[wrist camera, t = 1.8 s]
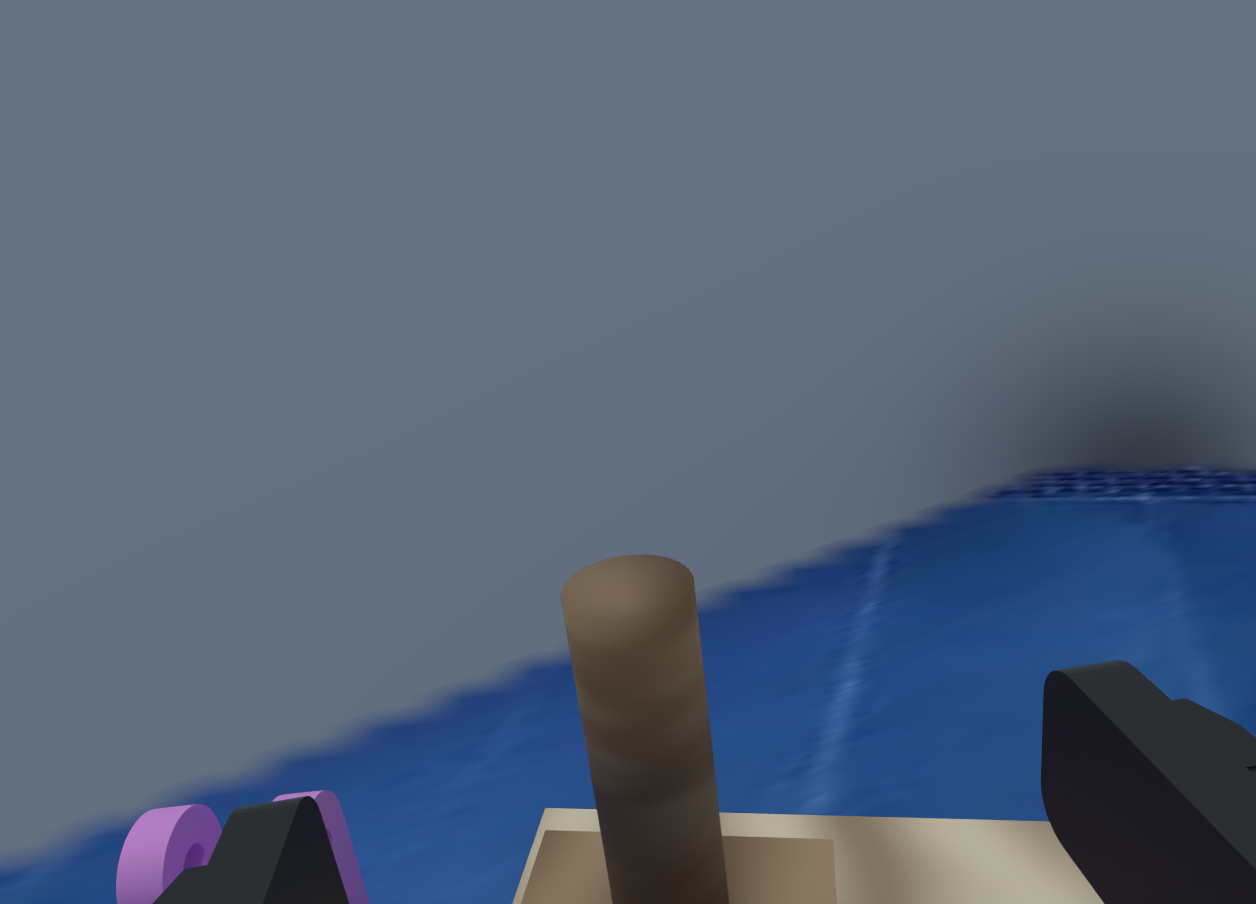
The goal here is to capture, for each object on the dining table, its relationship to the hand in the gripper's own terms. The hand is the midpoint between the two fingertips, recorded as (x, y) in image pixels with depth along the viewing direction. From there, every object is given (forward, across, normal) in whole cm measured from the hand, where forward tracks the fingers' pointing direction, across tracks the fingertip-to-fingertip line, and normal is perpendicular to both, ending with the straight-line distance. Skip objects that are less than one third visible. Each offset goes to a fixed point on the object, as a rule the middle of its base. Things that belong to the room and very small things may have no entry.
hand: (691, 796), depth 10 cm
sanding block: (+11, 0, +17) cm, 20 cm away
